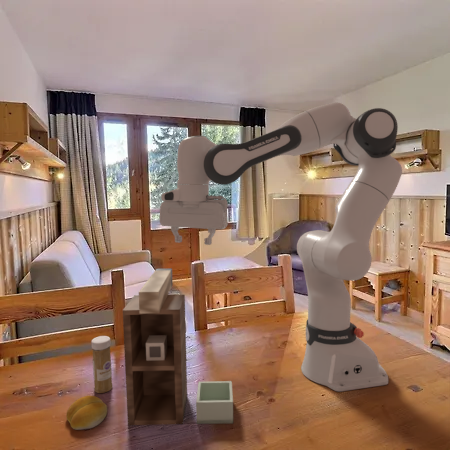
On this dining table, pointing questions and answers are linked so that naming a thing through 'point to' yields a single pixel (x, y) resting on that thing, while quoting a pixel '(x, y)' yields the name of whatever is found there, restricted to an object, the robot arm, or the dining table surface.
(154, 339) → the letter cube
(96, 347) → the sprinkles bottle
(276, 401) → the dining table surface
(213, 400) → the green box
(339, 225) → the robot arm
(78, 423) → the bread roll
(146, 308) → the birch bar
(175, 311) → the walnut shelf
